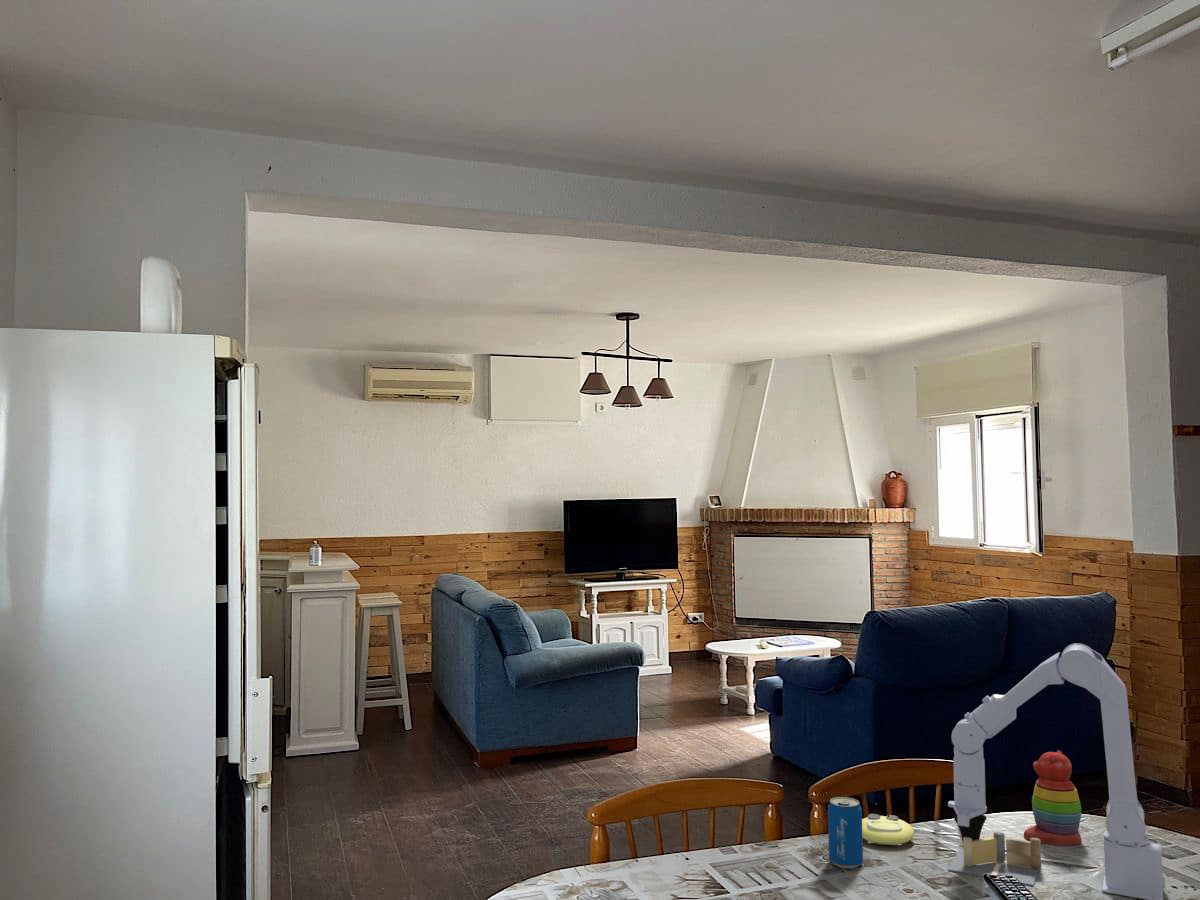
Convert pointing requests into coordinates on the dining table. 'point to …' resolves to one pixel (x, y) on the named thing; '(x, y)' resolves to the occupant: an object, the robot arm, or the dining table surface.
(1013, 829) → the dining table surface
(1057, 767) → the stacking bear
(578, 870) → the dining table surface
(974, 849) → the fence panel
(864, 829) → the emoji
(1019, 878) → the card
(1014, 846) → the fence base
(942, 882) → the dining table surface
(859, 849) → the beverage can
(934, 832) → the dining table surface
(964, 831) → the robot arm
